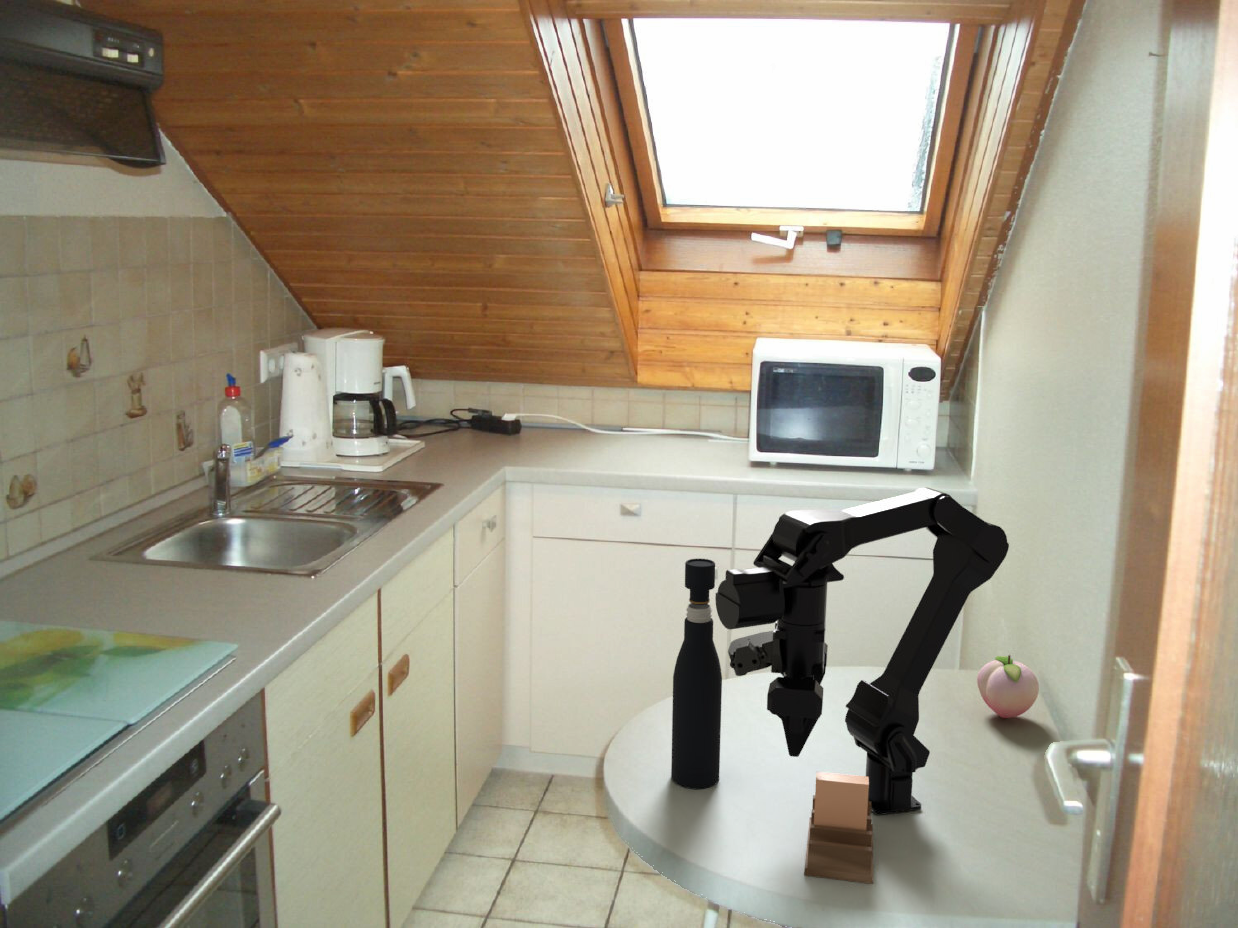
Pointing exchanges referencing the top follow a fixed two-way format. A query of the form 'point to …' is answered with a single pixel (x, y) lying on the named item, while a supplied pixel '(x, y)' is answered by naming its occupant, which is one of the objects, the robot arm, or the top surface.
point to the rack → (840, 851)
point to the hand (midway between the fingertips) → (796, 739)
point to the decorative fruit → (1007, 686)
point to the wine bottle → (697, 687)
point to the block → (841, 800)
